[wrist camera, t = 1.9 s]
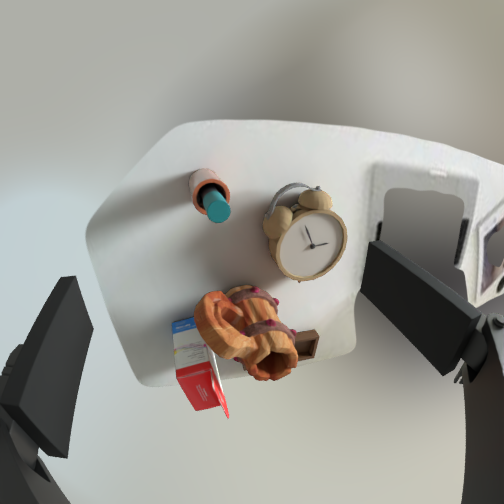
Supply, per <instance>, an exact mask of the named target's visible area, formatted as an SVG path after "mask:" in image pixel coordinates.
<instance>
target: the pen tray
mask: <svg viewBox="0 0 504 504" xmlns="http://www.w3.org/2000/svg"><path fill="white" fill-rule="evenodd" d="M318 340H319V335H318V333H317V332H316V330H309V331H303V332H297V334H296V337H295V346H294V347H295V349H296V351H297V354H298V361H302V360H306V359H311V358H314V356H315V352H316V348H317V344H318ZM242 365H243V364H242ZM243 368H244V370H247V369H246V366H244V365H243Z"/></svg>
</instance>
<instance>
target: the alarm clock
mask: <svg viewBox="0 0 504 504" xmlns="http://www.w3.org/2000/svg"><path fill="white" fill-rule="evenodd" d="M295 187H306V188H309V190H305V191H304V192H302V193H301V194H300V196H299V199H298V203H299V204H295V205H293V206H292V207H290V208H288V207H285V206H276V207H275V205H276V203H277V201H278V199H279V198H280V197H281V196H282V195H283V194H284V193H285V192H286V191H288V190H289V189H292V188H295ZM331 207H332V199H331V197H330V196H329V195H328V194H327V193H326V192H324V191H322V190H320V186H317V187H316V188H310V187H309V186H307V185H305V184H302V183H292V184H289V185H286V186H285V187H283V188H282V189H280V190H279V191H278V192H277V193H276V195H275V196H274V198H273V200H272V203H271V206H270V209H269V212H268V213H267V214H265V218H264V221H263V230H264V233H265V234H266V235H267V236H268V237H269V250H270V254H271V257H272V258H273V260H274V261H275V262H276V264H277V265H278V267H279V268H280V270H281V271H282V272H283V273H284V275H286V276H287V277H289V278H291V279H293V280H298V282H299V283H300V282H301V281H308V280H314V279H316V278H318V277H321V276H323V275H325V274H326V273H327V272H328V271H330V270H331V269H332V268H333V267H334V266H335V265H336V264H337V262H338V261H339V260H340V259H341V257H342V255H343V252H344V250H345V248H346V243H347V229H346V226H345V224H344V222H343V220H342V219H341V218H340V217H339V216H338V215H337V214H336V213H335V212H333V211H331V210H330V209H329V208H331Z"/></svg>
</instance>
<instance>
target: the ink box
mask: <svg viewBox="0 0 504 504" xmlns="http://www.w3.org/2000/svg"><path fill="white" fill-rule="evenodd" d="M172 331H173V344H174V356H175V367H176V379H177V380H178V382H179V384H180V386H181V388H182V389H183V391H184V393H185V394H186V396H187V398H188V400H189V401H190V403H191V404H192V406H193V407H194V409H195V410H196V411H199V410H204V409H209V408H213V407H216V406H220V405H221V406H222V408H223V410H224V412H225V414H226V416H227V418H229V414H228V409H227V405H226V401H225V397H224V393H223V389H222V385H221V381H220V377H219V373H218V369H217V365H216V360H215V356H214V352H213V351H212V350H211V348H210V347H209V346H208V345H207V344H206V342H205V341H204V340H203V338H202V337H201V335H200V333H199V331H198V329H197V327H196V324H195V322H194V317H192V318H189V319H185V320H182V321H178V322H174V323H172Z"/></svg>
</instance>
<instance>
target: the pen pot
mask: <svg viewBox="0 0 504 504" xmlns="http://www.w3.org/2000/svg"><path fill="white" fill-rule="evenodd" d="M207 183H213V185H214V186H215V188H216V189H217V190H218V192H219V193H220V194H221V195H222V196H223V197H224V199H225V200H226V202H227V203H229V200H230V192H229V189H228V187H227V186H226V184H225V183H224V182H223V181H222V180H221V179H220V178H219V177H218V175H217V174H216V173H214V172H213V171H212V170H210V169H199V170H197V171H195V172H194V173H193V174H192V175H191V177H190V180H189V188H190V193H191V197H192V201H193V204H194V206H195V208H196V209H197V210H198V211H199V212H200V213H202V214H205V215H207V213H206V210H205V208H204V205H203V199H202V197H201V194H200V192H199V189H200V188H201V187H202V186H203V185H205V184H207Z"/></svg>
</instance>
